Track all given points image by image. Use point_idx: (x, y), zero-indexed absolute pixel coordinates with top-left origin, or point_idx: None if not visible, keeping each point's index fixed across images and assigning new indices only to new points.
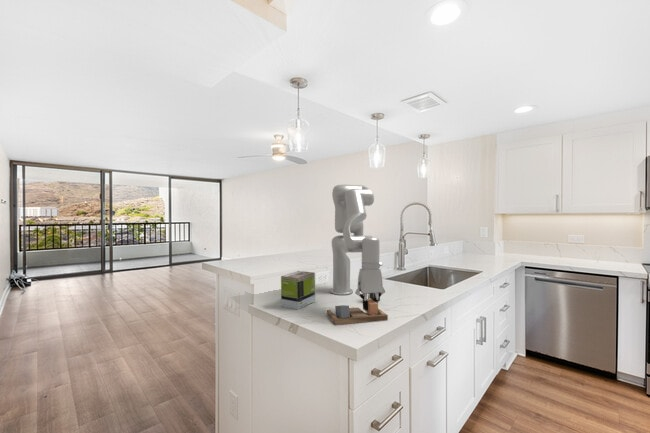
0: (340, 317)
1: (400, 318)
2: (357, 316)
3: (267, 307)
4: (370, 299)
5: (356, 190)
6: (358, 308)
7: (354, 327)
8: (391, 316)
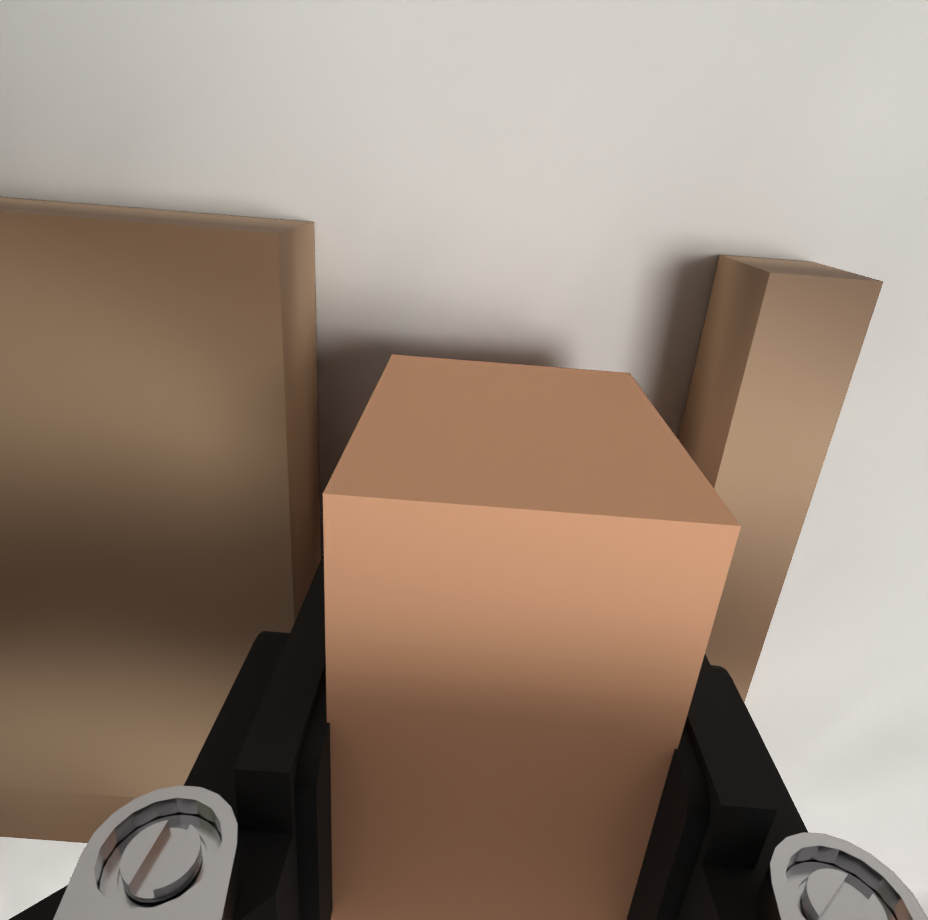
0: None
1: (922, 803)
2: (69, 790)
3: None
4: (635, 668)
5: None
6: (250, 327)
7: (23, 863)
8: (860, 694)
